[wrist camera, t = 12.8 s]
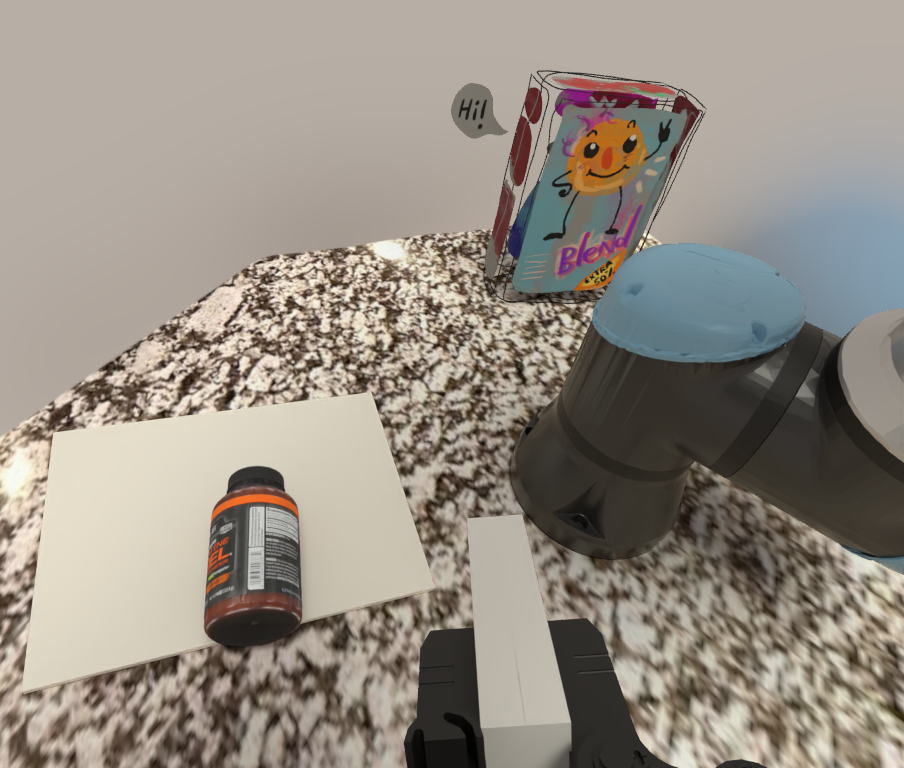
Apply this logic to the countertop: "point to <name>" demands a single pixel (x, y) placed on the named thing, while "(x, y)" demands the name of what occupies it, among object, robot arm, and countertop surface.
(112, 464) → the mat
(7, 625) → the countertop surface
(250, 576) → the supplement bottle
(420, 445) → the countertop surface
